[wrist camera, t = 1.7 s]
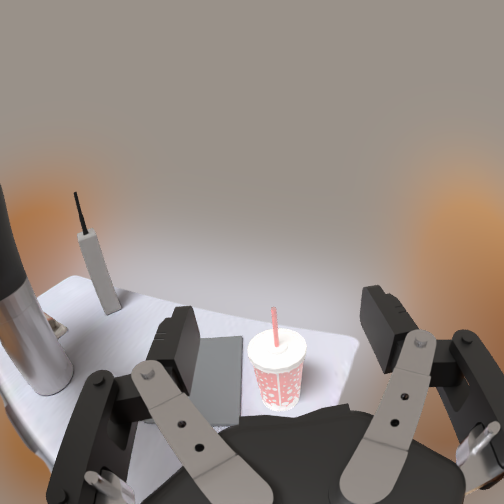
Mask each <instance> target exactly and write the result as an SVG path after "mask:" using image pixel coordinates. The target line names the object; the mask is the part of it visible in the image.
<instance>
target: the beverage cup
mask: <svg viewBox="0 0 504 504" xmlns="http://www.w3.org/2000/svg"><path fill="white" fill-rule="evenodd" d="M271 312H272V323H273V329H270V330H266V331H264V332H261V333H259V334H257V335H256V336H255V337H254V338H253V339H252V340H251V341H250V343H249V345H248V356H249V360H250V362H251V363H252V364H253V366H254V370H255V374H256V378H257V381H258V385H259V389H260V393H261V396H262V400H263V403H264V404H265V406H266V407H267V408H269V409H271V410H273V411H280V412H281V411H287V410H289V409H291V408H293V407H294V406H295V405H296V404H297V403H298V401H299V396H300V388H301V379H302V369H303V361H304V360H305V356H306V349H307V345H306V342H305V339H304V338H303V337H302V336H301V335H300V334H299V333H297V332H295V331H292V330H289V329H281V328H278V324H277V312H276V308H275V307H272V308H271Z"/></svg>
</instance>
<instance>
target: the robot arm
mask: <svg viewBox="0 0 504 504" xmlns="http://www.w3.org/2000/svg"><path fill="white" fill-rule="evenodd" d="M360 322H361V325H362V328H363V330H364V332H365V334H366V336H367V338H368V340H369V342H370V344H371V346H372V349H373V351H374V353H375V355H376V357H377V359H378V362H379V364H380V366H381V368H382V371H383V373H384V374H387V373H391V372H393V373H392V375H391V378H390V380H389V383H388V385H387V388H386V390H385V392H384V395H383V397H382V399H381V402H380V404H379V406H378V408H377V410H376V412H375V415H371V414H368V413H365V412H361V411H351V410H350V408H349V405H348V404H342V405H337V406H331V407H325V408H321V409H318V410H316V411H313V412H310V413H308V414H305V415H302V416H299V417H295V418H290V417H280V416H271V415H258V416H242V417H239V424H237V425H234V426H231V427H228V428H226V429H224V430H222V431H221V432H219V433H217V432H216V431H215V430H214V429H213V428H212V426H211V425H210V424H209V423H208V422H207V420H206V419H205V418H204V417H203V416H202V414H201V413H200V412H199V411H198V409H197V408H196V407H195V406H194V404H193V403H192V402H191V400H190V399H189V398H188V397H187V396H190V393H191V388H192V382H193V377H194V372H195V367H196V361H197V356H198V351H199V346H200V333H199V329H198V325H197V322H196V318H195V315H194V311H193V308H192V306H181V307H175V309H174V312H173V314H172V317H171V318H165V319H164V321H163V322H162V323H161V324H160V325H159V327H158V330H157V332H156V333H157V334H156V335H155V337H154V340H153V342H152V345H151V348H150V350H149V353H148V355H147V358H146V361H143V362H141V363H139V364H138V365H136V366H135V367H134V369H133V370H132V373H131V374H129V375H125V376H120V377H116V378H114V376H113V375H112V373H111V372H109V371H107V370H99V371H96V372H94V373H92V374H91V375H90V376H89V377H88V378H87V380H86V382H85V384H84V386H83V389H82V391H81V393H80V396H79V398H78V401H77V403H76V406H75V408H74V411H73V413H72V416H71V418H70V421H69V424H68V426H67V429H66V432H65V435H64V437H63V440H62V443H61V446H60V449H59V452H58V455H57V458H56V461H55V464H54V467H53V471H52V474H51V477H50V481H49V485H48V488H47V492H46V500H47V502H48V504H135V495H134V491H133V489H132V488H131V487H130V486H129V485H128V484H127V483H126V481H127V475H128V469H129V464H130V459H131V453H132V448H133V443H134V439H135V434H136V429H137V425H138V421H142V420H147V419H152V418H153V419H154V421H155V423H156V424H157V426H158V428H159V429H160V431H161V433H162V434H163V436H164V437H165V439H166V441H167V442H168V444H169V445H170V447H171V448H172V450H173V451H174V453H175V454H176V456H177V457H178V459H179V460H180V462H181V463H182V464H183V466H182V467H181V468H180V469H179V470H178V471H177V472H176V473H175V474H173V475H172V476H171V477H170V478H169V479H168V480H167V481H166V482H164V483H163V484H162V485H161V486H160V487H159V488H158V489H156V490H155V491H154V492H153V493H152V494H150V495H149V496H148V497H147V498H146V499H144V500H143V501H142V502H141V504H463V502H464V497H465V496H466V495H468V494H470V493H471V492H474V491H475V490H477V489H481V490H486V489H489V488H491V487H492V486H494V485H495V484H496V483H498V482H499V481H500V480H502V479H503V478H504V374H503V373H502V371H501V370H500V368H499V366H498V365H497V363H496V362H495V361H494V359H493V357H492V356H491V354H490V353H489V351H488V350H487V349H486V347H485V346H484V344H483V343H482V342H481V340H480V339H479V337H478V336H477V335H476V334H475V333H473V332H472V331H469V330H458V331H456V332H455V334H454V335H453V338H452V340H436V338H435V337H434V336H433V334H431V333H430V332H428V331H425V330H420V329H419V328H418V327H417V325H416V324H415V322H414V321H413V319H412V318H411V317H410V315H409V314H408V312H406V310H405V308H404V307H403V306H402V304H401V303H400V301H399V300H398V299H397V298H396V297H394V296H393V295H391V294H385V293H384V291H383V290H382V288H381V287H380V286H379V285H374V286H368V287H364V288H363V290H362V299H361V308H360ZM0 341H1V344H2V346H3V347H4V349H5V351H6V352H7V354H8V355H9V357H10V358H11V360H12V361H13V363H14V364H15V366H16V367H17V369H18V370H19V372H20V373H21V374H22V376H23V377H24V379H25V380H26V381H27V383H28V384H29V385H31V387H32V388H33V389H34V391H35V392H36V393H38V394H40V395H52V394H55V393H57V392H59V391H60V390H62V389H63V388H64V387H65V386H66V385H67V384H68V383H69V381H70V380H71V378H72V375H73V365H72V363H71V361H70V360H69V358H68V356H67V355H66V353H65V351H64V350H63V348H62V346H61V344H60V343H59V341H58V339H57V337H56V336H55V334H54V332H53V330H52V328H51V326H50V324H49V322H48V321H47V319H46V317H45V315H44V313H43V311H42V308H41V306H40V304H39V302H38V300H37V298H36V296H35V293H34V291H33V289H32V287H31V284H30V282H29V280H28V277H27V275H26V273H25V270H24V267H23V265H22V262H21V259H20V256H19V253H18V250H17V247H16V244H15V240H14V237H13V234H12V230H11V226H10V222H9V218H8V213H7V209H6V204H5V199H4V195H3V192H2V188H1V185H0ZM465 378H466V379H465ZM466 380H467V381H466ZM467 382H468V383H469V385H468V383H467ZM428 387H436V388H437V390H438V392H439V395H440V397H441V399H442V401H443V404H444V406H445V408H446V410H447V413H448V415H449V418H450V420H451V422H452V425H453V427H454V430H455V432H456V435H457V438H458V440H459V443H460V445H459V446H458V448H457V451H456V459H457V460H456V463H454V462H453V461H451V460H450V459H448V458H446V457H444V456H442V455H440V454H438V453H437V452H435V451H433V450H431V449H430V448H427V447H426V446H424V445H422V444H421V443H419V442H417V441H415V440H414V439H412V438H413V436H414V433H415V430H416V427H417V424H418V421H419V418H420V415H421V412H422V409H423V405H424V402H425V398H426V395H427V391H428Z"/></svg>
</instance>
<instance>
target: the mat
mask: <svg viewBox="0 0 504 504" xmlns="http://www.w3.org/2000/svg"><path fill="white" fill-rule="evenodd" d="M241 368H242V336H233V337H218V338H200V346H199V351H198V356H197V361H196V367H195V372H194V377H193V382H192V388H191V393H190V396H187V397H188V398H189V399H190V400H191V402H192V403H193V404H194V406H195V407H196V408H197V409H198V411H199V412H200V413H201V414H202V416H203V417H204V418H205V419H206V420H207V422H208V423H209V424H210V425H211V426H234V425H237V424H239V417H240V402H241ZM143 421H144V422H145V423H153V424H156V423H155V421H154V419H153V418H152V419H147V420H143Z"/></svg>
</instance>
